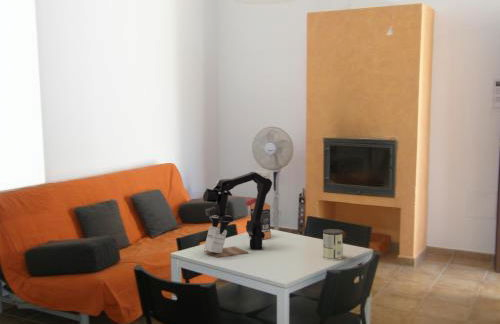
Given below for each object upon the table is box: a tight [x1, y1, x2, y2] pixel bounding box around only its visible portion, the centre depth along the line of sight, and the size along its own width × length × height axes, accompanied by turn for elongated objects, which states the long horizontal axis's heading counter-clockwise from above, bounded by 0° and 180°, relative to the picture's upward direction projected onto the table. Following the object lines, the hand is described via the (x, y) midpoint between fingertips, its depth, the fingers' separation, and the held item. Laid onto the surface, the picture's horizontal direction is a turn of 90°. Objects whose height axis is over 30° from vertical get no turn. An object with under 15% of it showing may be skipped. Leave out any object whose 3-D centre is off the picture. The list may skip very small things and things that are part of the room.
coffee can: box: [322, 228, 344, 261], centre depth 280 cm, size 10×10×14 cm
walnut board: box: [204, 245, 249, 259], centre depth 290 cm, size 19×15×1 cm
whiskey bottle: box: [248, 201, 272, 241], centre depth 326 cm, size 10×10×32 cm
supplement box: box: [204, 225, 228, 253], centre depth 286 cm, size 7×7×13 cm
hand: (217, 232), depth 287 cm, fingers open, 7 cm apart
